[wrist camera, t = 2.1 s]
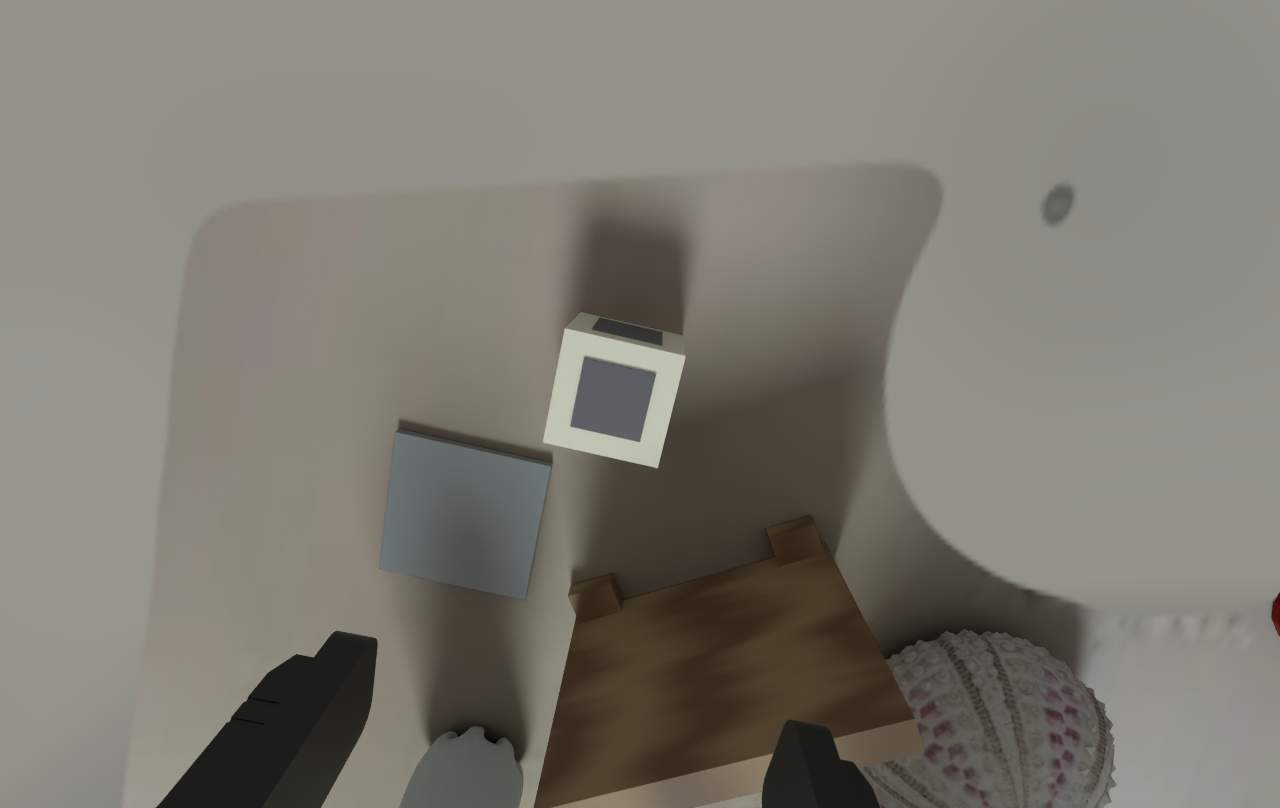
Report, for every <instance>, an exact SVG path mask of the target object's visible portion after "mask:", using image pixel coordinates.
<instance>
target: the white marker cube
mask: <svg viewBox="0 0 1280 808" xmlns="http://www.w3.org/2000/svg"><path fill="white" fill-rule="evenodd" d="M685 358H686V354H685V348H684V342H683V336H682V335H679V334H675V333H670V332H666V331H662V330H657V329H653V328H648V327H644V326H640V325H635V324H631V323H627V322H622V321H618V320H614V319H609V318H605V317H601V316H596V315H592V314H588V313H583V312H580V313H579V314H578V315H577V316H576V317H575V318H574V319H573V320H572V321H571V322H570V323H569V324H568V325H567V326H566V328H565V330H564V335H563V340H562V345H561V351H560V356H559V361H558V366H557V372H556V377H555V382H554V387H553V393H552V398H551V403H550V408H549V413H548V419H547V424H546V429H545V434H544V440H543V443H548V444H552V445H557V446H561V447H565V448H570V449H574V450H579V451H583V452H588V453H592V454H597V455H601V456H606V457H610V458H615V459H619V460H623V461H628V462H632V463H637V464H641V465H646V466H650V467H655V468H658V465H659V461H660V457H661V453H662V449H663V445H664V441H665V437H666V433H667V429H668V425H669V421H670V417H671V413H672V409H673V405H674V401H675V398H676V394H677V390H678V386H679V382H680V378H681V374H682V370H683V366H684V362H685Z"/></svg>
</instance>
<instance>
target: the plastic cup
mask: <svg viewBox="0 0 1280 808" xmlns="http://www.w3.org/2000/svg"><path fill="white" fill-rule="evenodd" d="M1272 620H1273V623H1274V625H1275V628H1276V630H1277V632H1278V635H1279V636H1280V593H1279V594H1278V596H1277V598H1276V599H1275V601H1274V608H1273V616H1272Z"/></svg>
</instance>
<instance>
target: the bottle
mask: <svg viewBox="0 0 1280 808" xmlns="http://www.w3.org/2000/svg"><path fill="white" fill-rule="evenodd" d="M522 791H523V771H522V767H521V765H520V763H518V762H517V761H516V760H515V758H514V749H513V746H512V744H511V743H510V741H509V740H508V739H506V738H500V739H499V740H498V741H497V742H496V744H494V743H491V742H489V741H487V740H486V738H485V737H484V728H483V727H480V726H473V727H471V728H469V729H468V730H467V731H466V732H465V733H464V734H463V735H461V736H460V737H458V735H457V734H456V733H455V732H452V731H449V732H446V733H444V734H443V735H441V736H440V737H439V738H437V739H436V741H435V742H434V743H433V744H432V745H431V747H430V748H429V749H428V750H427V752H426V753H425V755H424V756H423V758H422V759H421V761H420V762H419V764H418V765H417V767H416V769H415V771H414V773H413V775H412V777H411V779H410V781H409V784H408V786H407V789H406V791H405V794H404V797H403V799H402V802H401V805H400V807H399V808H519V805H520V800H521V796H522Z"/></svg>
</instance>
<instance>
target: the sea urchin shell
mask: <svg viewBox="0 0 1280 808" xmlns="http://www.w3.org/2000/svg"><path fill="white" fill-rule="evenodd" d="M885 661H886V663H887V665H888V667H889V669H890V670H891V672H892V674H893V676H894V678H895V680H896V682H897V684H898V686H899V688H900V690H901V692H902V694H903V696H904V698H905V700H906V702H907V704H908V706H909V708H910V709H911V711H912V713H913V715H914V717H915V720H916V723H917V727H918V730H919V734H920V738H921V741H922V745H923V748H924V752H925V753H922V754H918V755H913V756H909V757H905V758H901V759H896V760H892V761H888V762H884V763H880V764H875V765H871V766H867V767H863V768H859V770H860V771H861V773H862V774H863V775H864V777H865V778H866V780H867V781H868V782H869V784H870V785H871V786H872V788H873V790H874V792H875V795H876V797H877V800H878V803H879V805H880V808H1103V807H1104V806H1105V805H1107V804H1109V803H1111V799H1110V796H1109V794H1108V793H1109V790H1110V789H1111V788H1113V787H1115V786H1117V785H1116V783H1115V782H1114V780H1113V779H1112V777H1111V773H1112V772H1113V771H1114V770H1115V769H1116V768H1115V766H1114V765H1113V758H1114V745H1113V744H1112V743H1113V741H1114V737H1113V736H1112V735H1111V733H1110V730H1111V728H1112V726H1113V724H1112V722H1111V721H1110V720H1109V719H1108V718H1107V716H1106V715H1105V712H1106V711H1105V710H1104V709H1105V704H1104V703H1102V702H1099V701H1097V699H1096V698H1095V696H1094V691H1093V689H1091V688H1088V687H1086V686H1085V684H1084V683H1082V682H1081V681H1079V680H1078V679H1076V678H1075V677H1074V675H1073V673H1072V671H1071V670H1070V668H1069V667H1068V666H1067V665H1066V663H1065V661H1059V660H1057V659H1056V658H1053V656H1052V655H1051V654H1050V652H1049V651H1046V650H1045V648H1044V647H1037V646H1034V645H1033V644H1032V643H1030V642H1029V641H1028V640H1027V639H1026V638H1025V639H1020V638H1018V637H1017V638H1013V637H1011V636H1010V635H1009V634H1007V633H1006V632H1004V633H1001V634H999V633H998V632H995V633H991V632H988V631H987V632H985V633H983V634H982V635H977V634H976V633H974V632H973V631H971V630H970V631H967V630H966V629H964V630H962V631H961V632H959V633H958V634H953V633H950V632H947V631H946V632H945V633H944V634H943V633H942V634H941V636H940V637H939V638H938V639H936V640H933V641H929V642H924V641H922V640H918V641H917V643H916V644H915V645H913V646H906V647H905V649H903V650H902V651H901V653H900V654H893V655H892V656H891V658H890V659H885Z"/></svg>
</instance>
